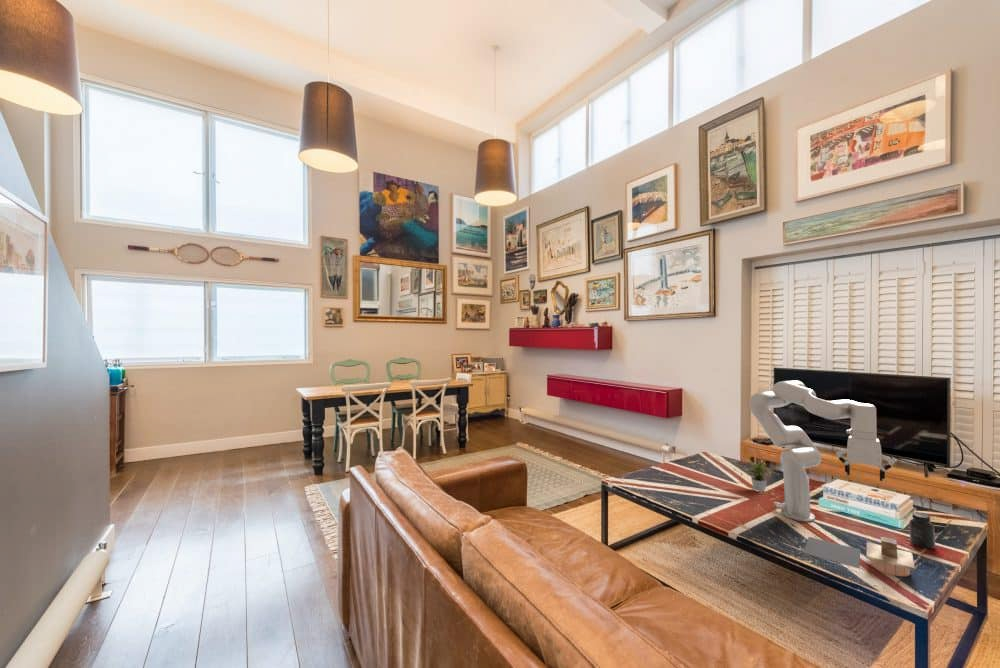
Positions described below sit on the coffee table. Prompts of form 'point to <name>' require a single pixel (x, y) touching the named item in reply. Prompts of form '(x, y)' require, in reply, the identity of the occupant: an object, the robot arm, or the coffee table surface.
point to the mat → (833, 552)
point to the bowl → (890, 568)
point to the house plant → (758, 476)
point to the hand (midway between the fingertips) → (864, 477)
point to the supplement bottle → (922, 531)
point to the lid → (890, 553)
